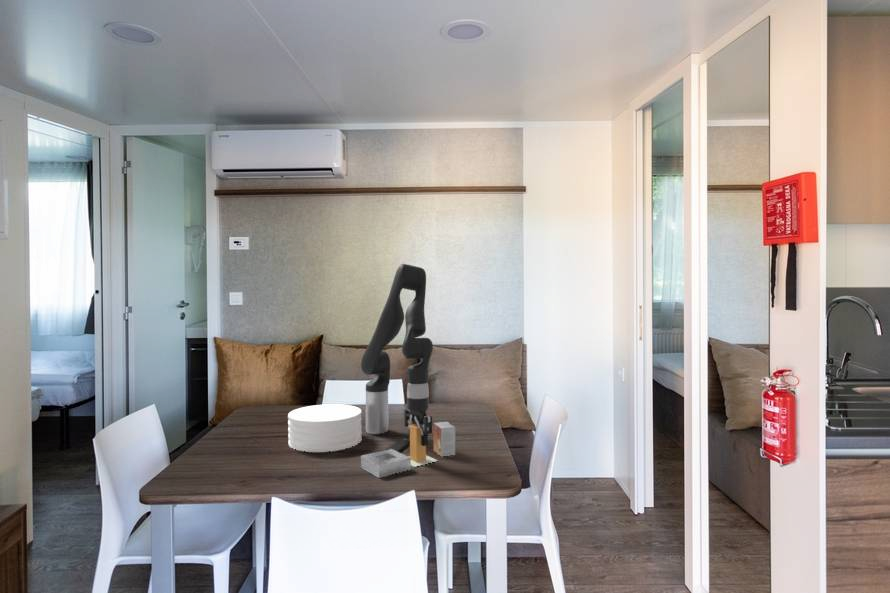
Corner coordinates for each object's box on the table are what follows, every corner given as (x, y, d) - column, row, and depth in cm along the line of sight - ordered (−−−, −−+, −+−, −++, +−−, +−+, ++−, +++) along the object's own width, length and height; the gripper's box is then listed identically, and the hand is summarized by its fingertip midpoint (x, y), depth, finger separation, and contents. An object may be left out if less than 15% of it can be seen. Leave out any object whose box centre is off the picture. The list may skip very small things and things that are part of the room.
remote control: (418, 439, 215) (418, 435, 215) (394, 458, 192) (394, 454, 192) (405, 438, 217) (405, 434, 217) (380, 456, 194) (380, 453, 194)
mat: (398, 459, 189) (398, 458, 189) (422, 454, 195) (422, 453, 195) (414, 467, 181) (414, 466, 181) (438, 461, 187) (438, 460, 187)
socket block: (361, 467, 181) (360, 455, 181) (391, 460, 188) (391, 448, 188) (378, 477, 172) (378, 465, 171) (410, 469, 179) (410, 457, 179)
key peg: (419, 457, 190) (419, 423, 190) (426, 460, 187) (425, 425, 187) (410, 459, 188) (409, 425, 188) (416, 462, 185) (416, 427, 184)
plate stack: (345, 454, 195) (345, 423, 195) (274, 450, 201) (274, 419, 201) (371, 433, 223) (371, 405, 223) (308, 429, 228) (307, 402, 228)
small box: (433, 451, 198) (433, 422, 198) (447, 449, 200) (447, 421, 200) (440, 457, 191) (440, 428, 191) (455, 455, 193) (455, 426, 193)
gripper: (438, 397, 183) (439, 445, 184) (415, 390, 195) (415, 436, 195) (420, 400, 179) (420, 450, 179) (397, 393, 191) (397, 439, 191)
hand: (418, 442), depth 187 cm, fingers open, 7 cm apart
